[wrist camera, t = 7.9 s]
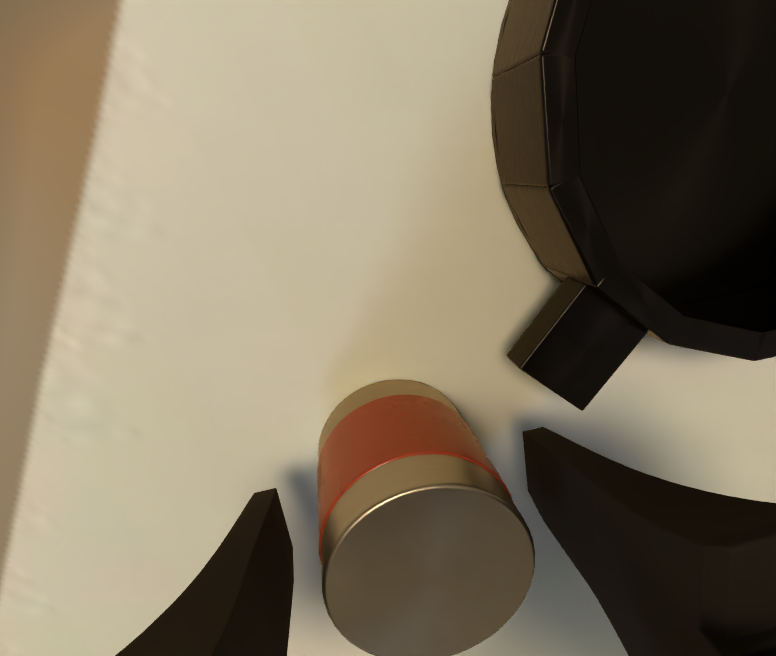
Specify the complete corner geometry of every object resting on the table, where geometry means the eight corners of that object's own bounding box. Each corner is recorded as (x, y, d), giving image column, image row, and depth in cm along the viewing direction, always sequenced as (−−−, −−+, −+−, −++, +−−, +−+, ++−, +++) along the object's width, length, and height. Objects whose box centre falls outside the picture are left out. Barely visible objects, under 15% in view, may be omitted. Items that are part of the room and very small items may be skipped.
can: (473, 492, 17) (545, 634, 12) (333, 525, 17) (344, 688, 12) (456, 362, 16) (530, 459, 10) (301, 395, 15) (296, 514, 10)
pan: (1081, -39, 15) (1285, -94, 12) (654, 452, 18) (727, 512, 15) (823, -494, 11) (1028, -759, 8) (336, 234, 14) (343, 252, 11)
